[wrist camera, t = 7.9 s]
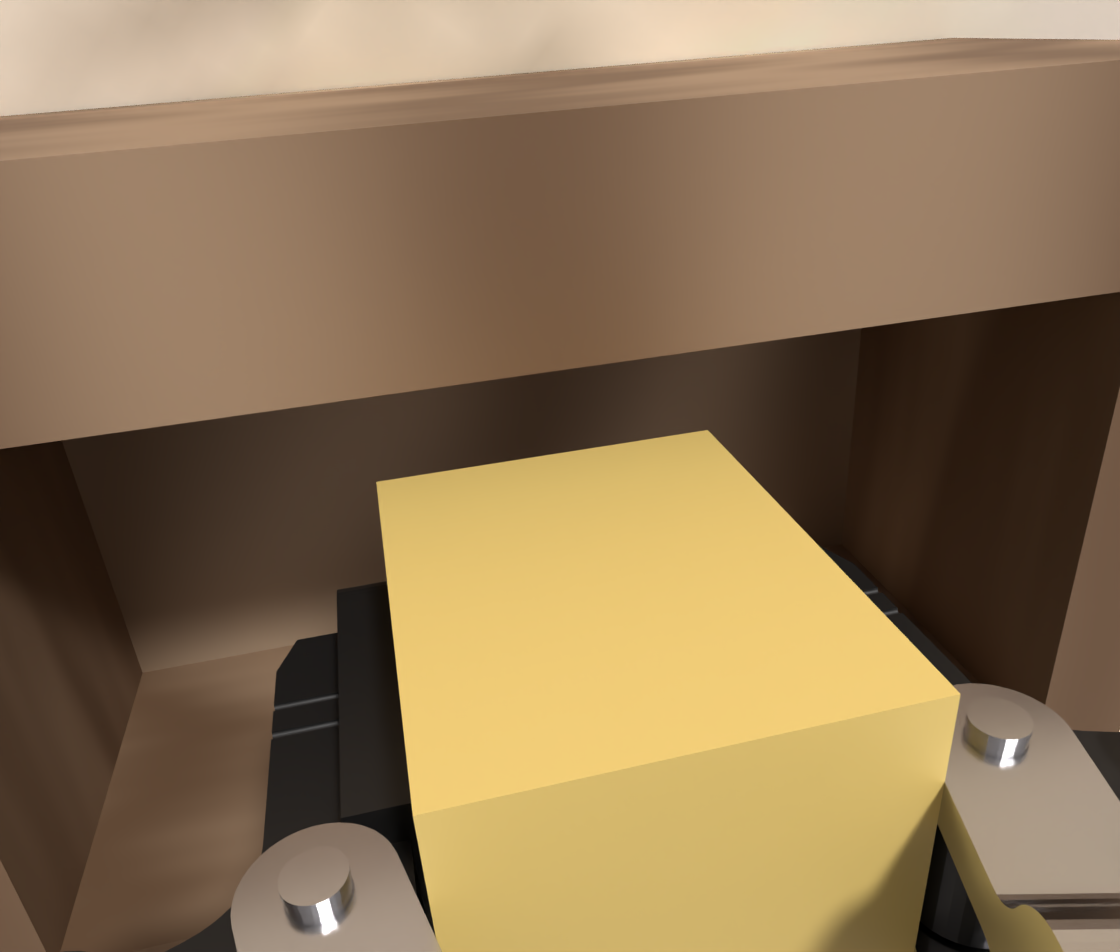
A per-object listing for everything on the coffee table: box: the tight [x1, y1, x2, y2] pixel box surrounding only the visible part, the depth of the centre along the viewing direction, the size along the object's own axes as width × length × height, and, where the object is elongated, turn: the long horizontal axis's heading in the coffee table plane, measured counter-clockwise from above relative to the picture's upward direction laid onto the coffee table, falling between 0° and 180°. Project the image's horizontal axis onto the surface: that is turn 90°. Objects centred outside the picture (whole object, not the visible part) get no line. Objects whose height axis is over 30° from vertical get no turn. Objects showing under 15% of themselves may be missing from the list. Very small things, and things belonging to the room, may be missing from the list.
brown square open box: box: [0, 38, 1120, 952], centre depth 15 cm, size 17×17×6 cm
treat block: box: [376, 430, 961, 952], centre depth 9 cm, size 4×4×5 cm
